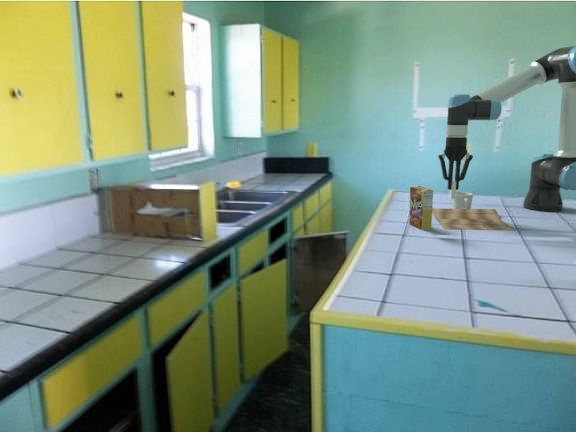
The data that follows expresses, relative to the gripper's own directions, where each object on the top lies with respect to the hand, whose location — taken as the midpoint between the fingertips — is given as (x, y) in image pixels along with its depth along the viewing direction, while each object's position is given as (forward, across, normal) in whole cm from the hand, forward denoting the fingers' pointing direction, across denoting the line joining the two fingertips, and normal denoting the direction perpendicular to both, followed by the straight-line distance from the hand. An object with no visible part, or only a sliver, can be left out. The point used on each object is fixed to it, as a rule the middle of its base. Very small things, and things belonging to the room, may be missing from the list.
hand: (452, 197), depth 194 cm
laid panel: (+8, -5, +14) cm, 17 cm away
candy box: (+9, +15, +18) cm, 25 cm away
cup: (+9, -7, -10) cm, 15 cm away
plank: (+7, -5, +2) cm, 9 cm away
